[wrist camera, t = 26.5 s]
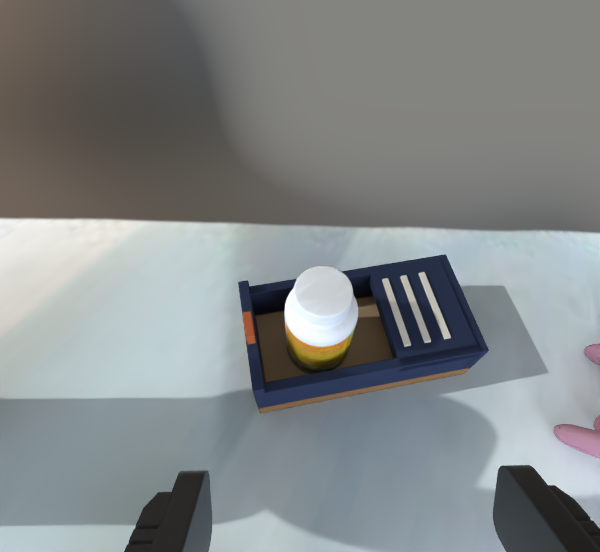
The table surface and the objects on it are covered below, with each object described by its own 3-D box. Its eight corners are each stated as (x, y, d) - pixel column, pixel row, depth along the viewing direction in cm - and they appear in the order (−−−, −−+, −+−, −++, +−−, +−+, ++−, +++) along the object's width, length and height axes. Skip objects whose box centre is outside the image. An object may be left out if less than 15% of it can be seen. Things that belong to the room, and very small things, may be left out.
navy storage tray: (259, 413, 34) (250, 385, 28) (246, 316, 39) (235, 272, 32) (464, 373, 36) (502, 338, 29) (428, 285, 41) (454, 237, 34)
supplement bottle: (353, 372, 35) (371, 323, 26) (288, 378, 34) (286, 330, 26) (343, 314, 37) (357, 253, 29) (283, 319, 37) (280, 259, 29)
